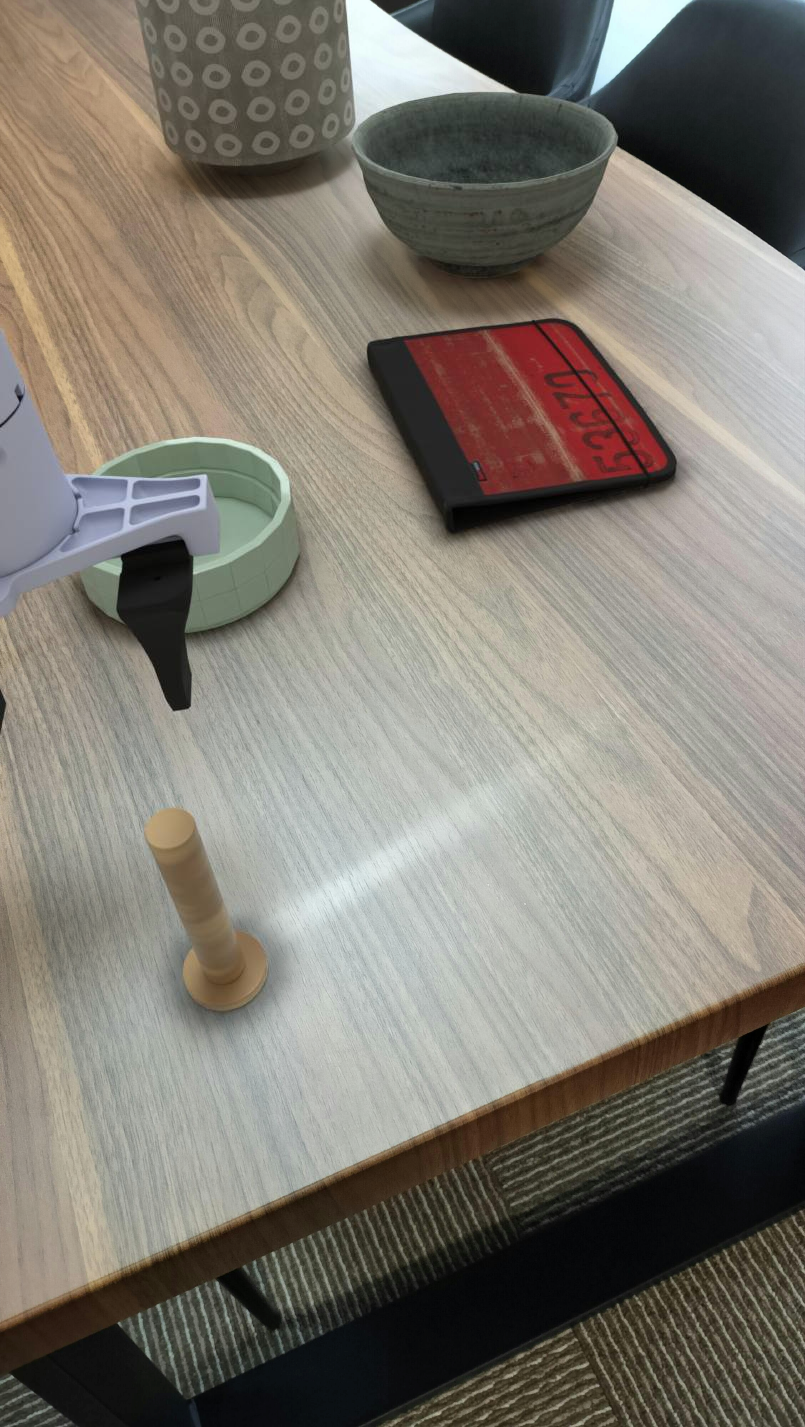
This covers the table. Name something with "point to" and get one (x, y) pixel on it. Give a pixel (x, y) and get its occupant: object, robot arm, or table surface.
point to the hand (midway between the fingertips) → (88, 707)
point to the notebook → (516, 419)
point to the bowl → (483, 175)
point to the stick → (204, 917)
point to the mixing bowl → (249, 521)
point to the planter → (249, 79)
